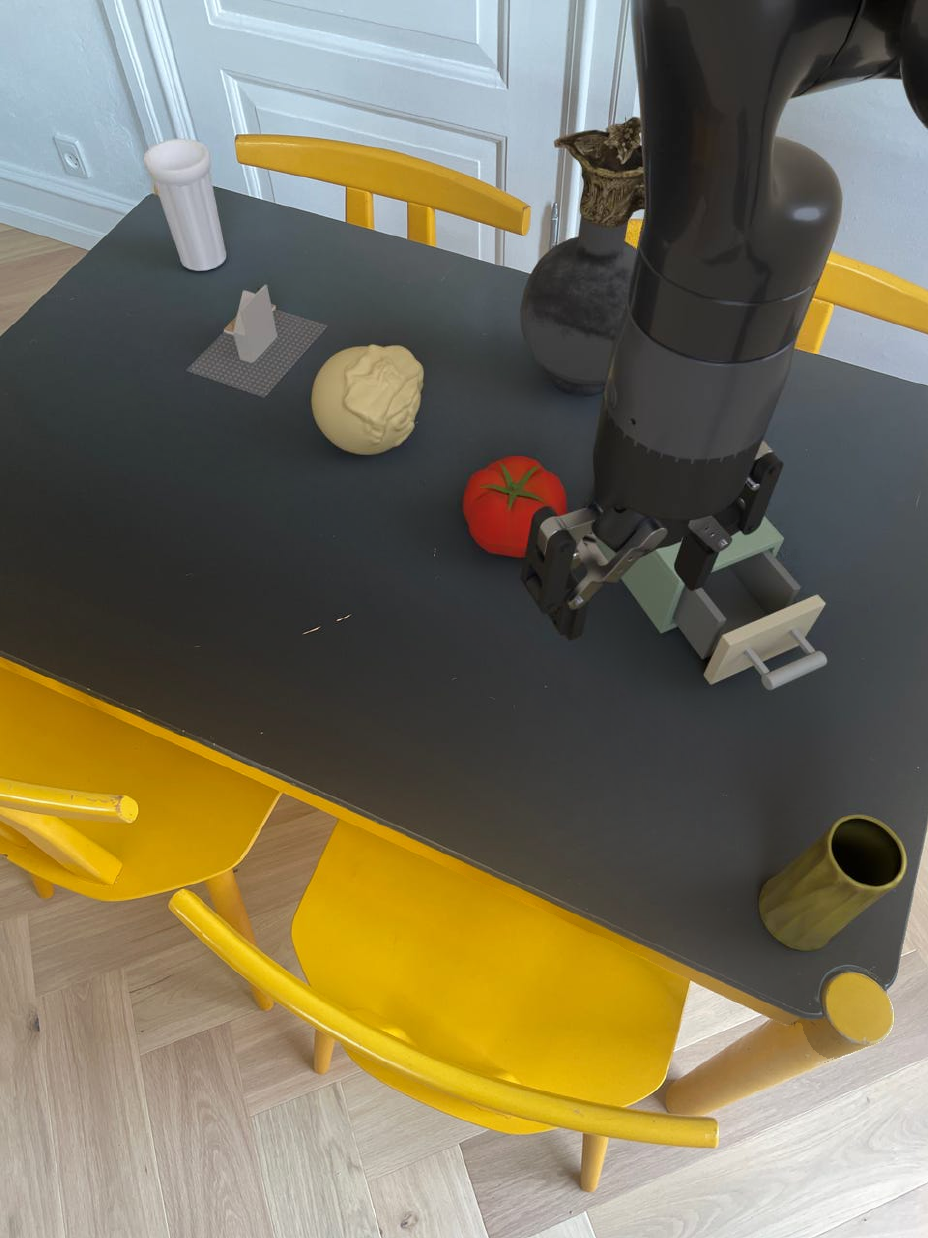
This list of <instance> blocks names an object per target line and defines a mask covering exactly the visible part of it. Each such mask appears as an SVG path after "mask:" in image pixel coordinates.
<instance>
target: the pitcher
mask: <svg viewBox="0 0 928 1238" xmlns="http://www.w3.org/2000/svg"><path fill="white" fill-rule="evenodd" d="M624 120H625V122H623V123H613V124H611V125H609V126H608V127H605V131H603V130H600V129H589V130H581V131H577V132H572V133H569V134H565V135H561V136H559V137H558V138H556V139H554V141H553V145H554V148H557V149H558V148H564V149H566V150H567V151H568V152H569V154H570V155H571V156H572V158H573V159H575V160H576V161H577V162H578V163H579V166H580V168H581V174H580V175H581V178H582V180H583V181H582V183H583V186H582V192H581V196H580V200H579V214H580V220H579V227H578V228H579V229H578V236H575V237H570V238H567V239H566V240H563V241H561V242H560V243H557V244H555V246H552V248H551V249H549V250H548V251H547V252H546V253H545V254H544V255H543V256H542V257H541V258H540V259H538V261H537V263H536V264H535V266H534V268H533V269H532V271H531V273H530V275H529V276H528V278H527V281H526V284H525V286H524V289H523V293H522V298H521V304H520V308H519V315H520V317H519V318H520V329H521V334H522V339H523V341H524V343H525V345H526V347H527V349H528V352H529V354H530V356H531V358H532V359H533V360H534V361H535V362H536V363H537V364H538V365H539V366H541V367H542V368H544V370H547V373H548V376H549V378H550V381H551V382H552V383H553V385H555V386H556V387H557V388H558V389H560V390H562V391H563V392H565V393H568V394H571V395H578V396H582V397H585V396H586V397H587V396H596V395H599V394H602V393H604V389H605V384H606V378H607V373H608V367H609V362H610V356H611V351H612V346H613V342H614V338H615V334H616V331H617V328H618V325H619V322H620V319H621V317H622V314H623V311H624V308H625V305H626V302H627V298H628V292H629V287H630V282H631V276H632V271H633V266H634V261H635V255H636V250H637V247H635V246H634V245H632V244H630V243H629V242H627V241H626V237H627V231H628V225H629V221H630V219H631V218H632V217H633V215H634V213H636V212H638V211H641V210H642V211H643V210H645V190H644V175H643V161H642V144H641V135H640V134H641V122H640V116H632V117H631V118H629V119H627V117H626V116H625V117H624Z"/></svg>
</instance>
